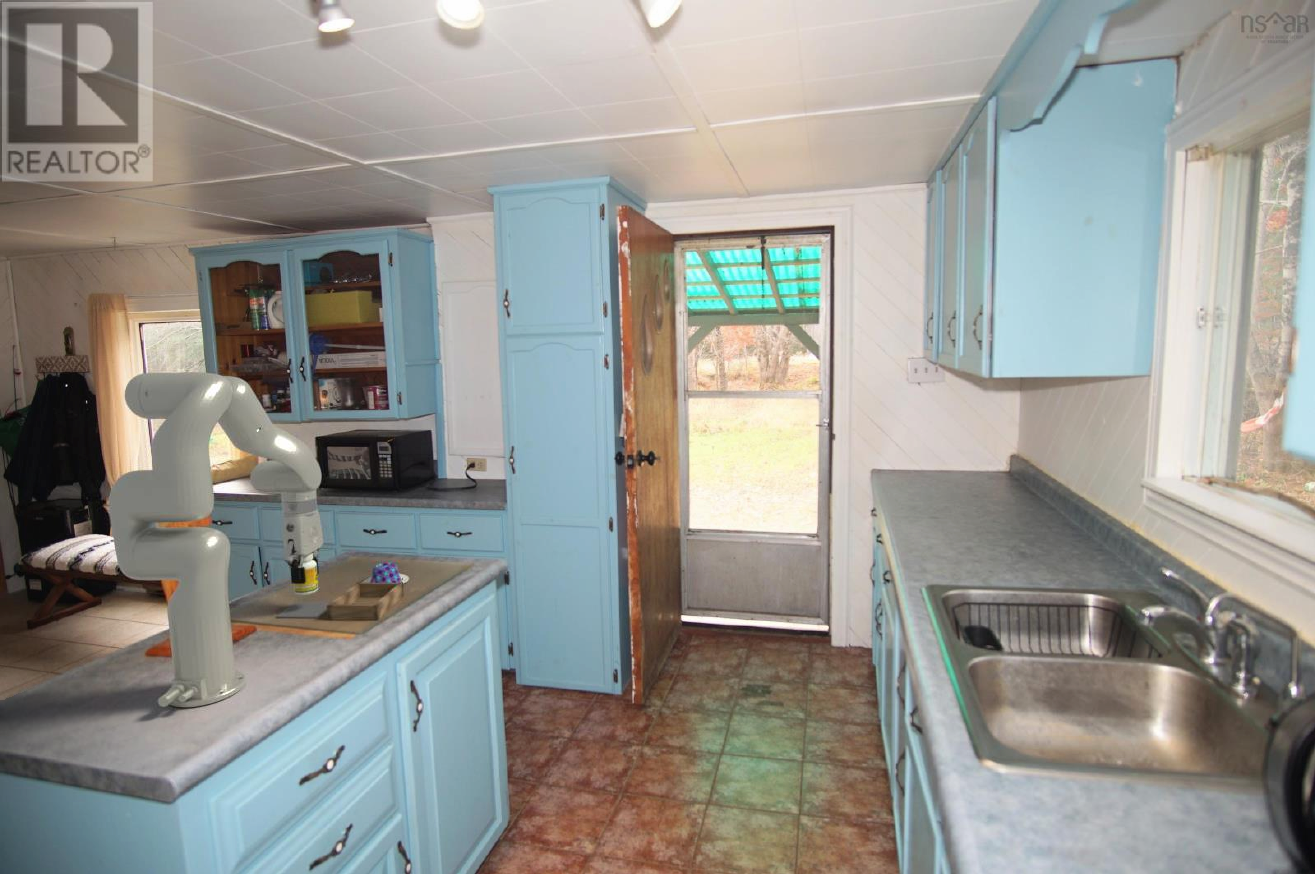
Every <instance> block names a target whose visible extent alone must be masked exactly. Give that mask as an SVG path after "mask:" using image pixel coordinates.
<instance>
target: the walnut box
mask: <svg viewBox="0 0 1315 874" xmlns="http://www.w3.org/2000/svg"><path fill="white" fill-rule="evenodd" d="M404 589H405V588H404V583H401V582H400V583H363V582H356V583H355V584H353V585H352V586H351V587H350V588H348V589H347V590H346V591H344V592H343V593H342V594H340V595H339V596H337V597H336V598H335V599H334V600H332V601H333V602H331V603H330V604H329V605H327V611H326V614H327V621H379V620H380V619H381V618H382V617H383V616H384V615H385V614H386V613H387V612H388V611H389V610H391V609H392V608H393V607H394V606H395V605H396V604H397V603H398V602H399V601H400V600H401V599H402V598H403V597H404V596H405V590H404ZM402 596H403V597H402ZM360 598H380V599H379V600H378V601H377V602H375V603H374V604H363V603H362V604H356V603H355V602H356V601H357V600H359V599H360ZM398 600H399V601H398ZM397 601H398V602H397ZM396 602H397V603H396ZM354 603H355V604H354ZM393 605H394V606H393ZM392 606H393V607H392ZM383 614H384V615H383ZM382 615H383V616H382ZM378 619H379V620H378Z"/></svg>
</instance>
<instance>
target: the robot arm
mask: <svg viewBox="0 0 1315 874" xmlns="http://www.w3.org/2000/svg"><path fill="white" fill-rule="evenodd" d="M124 400H125V403H126V405H127V408H128V409H129V410H130V411H131V412H132V413H133V414H135V415H136V416H137V417H139V418H142V419H145V420H162V419H163V420H164V421H163V422H162V423H161V425H160V426H159V427H158V429H157V430H156V432H155V434H154V436H153V438H152V441H151V446H150V447H151V448H150V450H151V459H152V460H151V462H152V469H138V470H131V471H129V472H128V471H127V472H126V473H124V474H121V475H120V476H119V477H118V478H117V479H116V480H115V481H114V483H113V485H112V487H111V488H110V489H111V490H110V493H109V498H108V509H109V511H108V512H109V519H110V525H111V531H112V538H113V542H114V543H113V544H114V549H115V557H116V561H117V564H118V567H119V569H120V571H121V573H122V574H123V575H124V576H126V577H127V578H129V579H132V580H136V581H175V582H176V581H177V583H178V584H177V587H175V590H174V591H173V593H172V594H171V596H170V598H169V599H168V602H167V608H166V609H167V620H168V628H169V637H170V638H169V640H170V649H171V656H172V657H171V658H172V659H171V660H172V669H173V678H174V679H172V680H171V687H170V688H169V689H168V690H167V691H166V693H165V694H163V695H161V696H160V697H159V698H158V699H157V703H158V705H159V707H162V708H166V707H168V706H169V705H170V706H173V707H176V708H194V707H195V708H196V707H200V706H206V705H209V704H214V703H217V702H219V701H222V700H225V699H228V698H230V697H231V696H234V695H235V694H236V693H238V692H239V691H240V690H242V689H243V688H244V686H245V684H246V676H245V674H244V673H243V672H241V671H239V670H236V668H235V656H234V655H235V654H234V646H233V645H234V643H233V634H232V632H233V631H232V623H231V611H230V601H229V599H230V598H229V585H228V584H229V583H228V580H229V578H228V577H229V566H230V559H231V543H230V540H229V538H228V536H227V535H226V534H225V533H224V532H222V531H220V530H218V529H216V528H212V527H205V526H179V527H177V526H176V527H159V524H160V523H189V522H197V521H201V520H203V519H206V518H207V517H208V516H209V515H210V514H212V512H213V510H214V506H215V495H214V494H215V491H214V484H213V482H214V481H213V476H212V468H211V459H210V447H209V445H210V439H211V435H212V433H213V431H214V429H215V427H216V426H217V425H218V424H219V427H221V429H222V431H224V433H225V435H226V436H227V438H228V439H229V441H230V442H231V444H232V445H233V446H234V447H235V448H236V449H238V450H240V451H242V452H244V453H246V454H249V455H253V456H256V457H259V458H264V459H267V460H266V461H262V462H259V463H258V464H257V465H255V466H254V467H253V468H252V471H251V472H250V476H249V477H250V478H249V479H250V484H251V486H252V488H253V489H254V490H256V491H257V492H259V493H261V494H271V495H272V494H280V495H281V496H280V497H281V498H280V499H281V507H282V509H281V511H282V515H283V521H282V523H283V524H282V527H283V528H282V537H283V539H282V540H283V541H282V542H283V550H284V556H283V561H284V562H286V563H287V565H288V568H289V570H290V579H291V580H290V581H291V584H293V585H294V584H304V583H305V582H306V578H305V567H303V558H304V556H306V555H308V554H310V553H313V559H312V560H314V561H315V562H316V563H317V576H318V575H319V573H320V572H319V571H320V570H319V568H320V567H319V560H318V559H319V556H320V555H319V550H320V548H321V547H323V544H324V536H323V528H322V521H321V515H320V512H319V509H318V500H317V499H318V498H317V489H318V488H319V486H320V485H321V483H322V471H321V467H320V464H319V462H318V461H317V458H316V456H315V454H314V453H313V451H312V450H311V448H310V447H309V446H308V445H307V443H305V442H303V441H302V440H301V439H299V438H297V437H296V436H295V435H292V434H290V433H289V432H287V431H286V430H284V429H282V428H280V427H278V426H276V425H274V423H273V422H272V421H271V419H270V417H269V415H268V414H267V412H266V411H265V408H263V406H262V403H261V402H260V401H259V399H258V397H257V395H256V394H255V392H254V391H253V388H252V387H251V386H250V384H249V383H248V382H247V381H245V380H244V379H242V378H240V377H236V376H230V375H221V374H217V373H212V372H211V373H210V372H201V371H200V372H199V371H197V372H194V371H192V372H189V371H188V372H187V371H184V372H143V373H139V374H137V375H135V376H133V377H132V378H131V379H130V380H129V381H128V382H127V384H126V387H125V389H124ZM268 459H269V460H268ZM295 554H298V555H295ZM295 557H299V561H297V560H296V559H295Z"/></svg>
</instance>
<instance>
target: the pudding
mask: <svg viewBox="0 0 1315 874" xmlns="http://www.w3.org/2000/svg"><path fill="white" fill-rule="evenodd" d="M402 578H403V580H402ZM409 580H410V577H409V575H406V574H403V573H400V571H399V568H398V566H397V564H396V563H394V562H390V561H389V562H380V563H378V564H375V565H374V567H373V568H372V573H371V577H368V578H367V579H364V580H363V581H362V583H399V582H400V583H401V582H403V584H405V583H407V582H408V581H409Z"/></svg>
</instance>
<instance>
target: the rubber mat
mask: <svg viewBox="0 0 1315 874" xmlns="http://www.w3.org/2000/svg"><path fill="white" fill-rule="evenodd" d="M333 601H334V600H298V601H296V602H294V603H293V604H292V605H291V606H289V607H288V608H286V609H285V610H283V611H282V612H280V613H279V614H277V615H276V616H275V618H276V619H318V618H320V617H321V616H323V614H325V613H327V605H329V604H330V603H331V602H333Z"/></svg>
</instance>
